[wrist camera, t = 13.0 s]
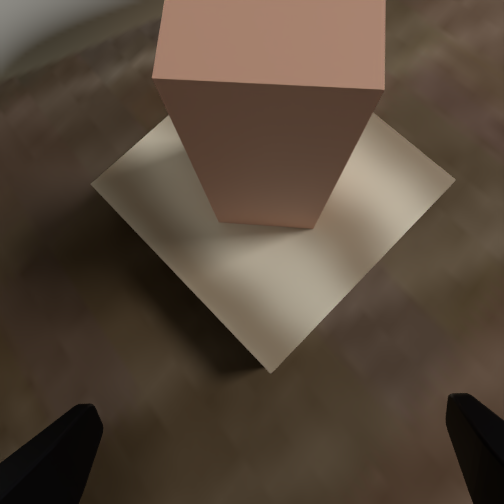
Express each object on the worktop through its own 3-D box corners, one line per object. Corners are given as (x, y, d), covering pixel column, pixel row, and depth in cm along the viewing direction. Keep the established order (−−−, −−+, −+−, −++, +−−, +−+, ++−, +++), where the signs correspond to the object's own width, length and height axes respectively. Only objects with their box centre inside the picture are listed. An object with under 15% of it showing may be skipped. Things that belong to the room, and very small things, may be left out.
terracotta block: (313, 229, 18) (384, 89, 7) (218, 222, 18) (151, 78, 7) (317, 141, 19) (386, -95, 8) (227, 136, 19) (180, -99, 8)
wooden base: (270, 366, 20) (270, 373, 17) (113, 202, 22) (90, 184, 19) (429, 199, 21) (455, 179, 18) (268, 64, 24) (268, 27, 21)
